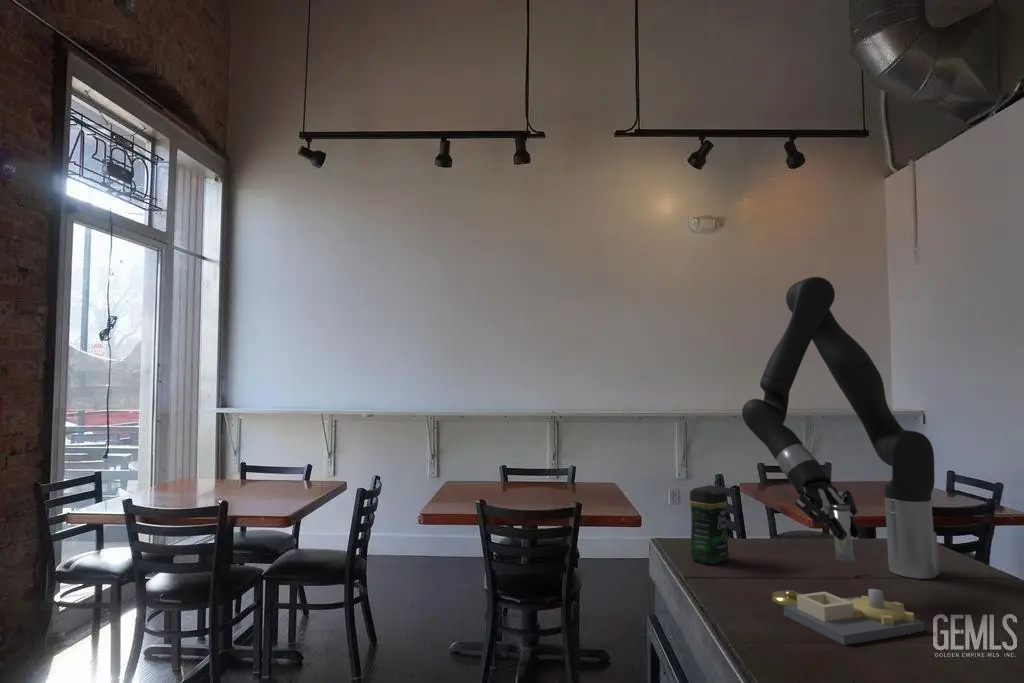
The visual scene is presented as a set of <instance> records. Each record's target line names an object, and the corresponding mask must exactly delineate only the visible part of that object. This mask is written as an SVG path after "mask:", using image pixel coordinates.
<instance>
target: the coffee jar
mask: <svg viewBox="0 0 1024 683" xmlns="http://www.w3.org/2000/svg"><path fill="white" fill-rule="evenodd" d="M727 499H728V496H727V491H726V489H724V487H722V486H716V485H705V486H700V487H694V488H693V489H692V490H690V491H689V504H690V513H691V535H690V536H691V537H690V558H691V560H694V561H696V562H697V561H698V563H699V562H701V563H700V564H703V563H705V564H712V565H717V564H720V563H724V562H726V561H727V560H728V559H729V555H730V554H729V540H728V531H727V529H728V528H727V504H728V500H727Z"/></svg>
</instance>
